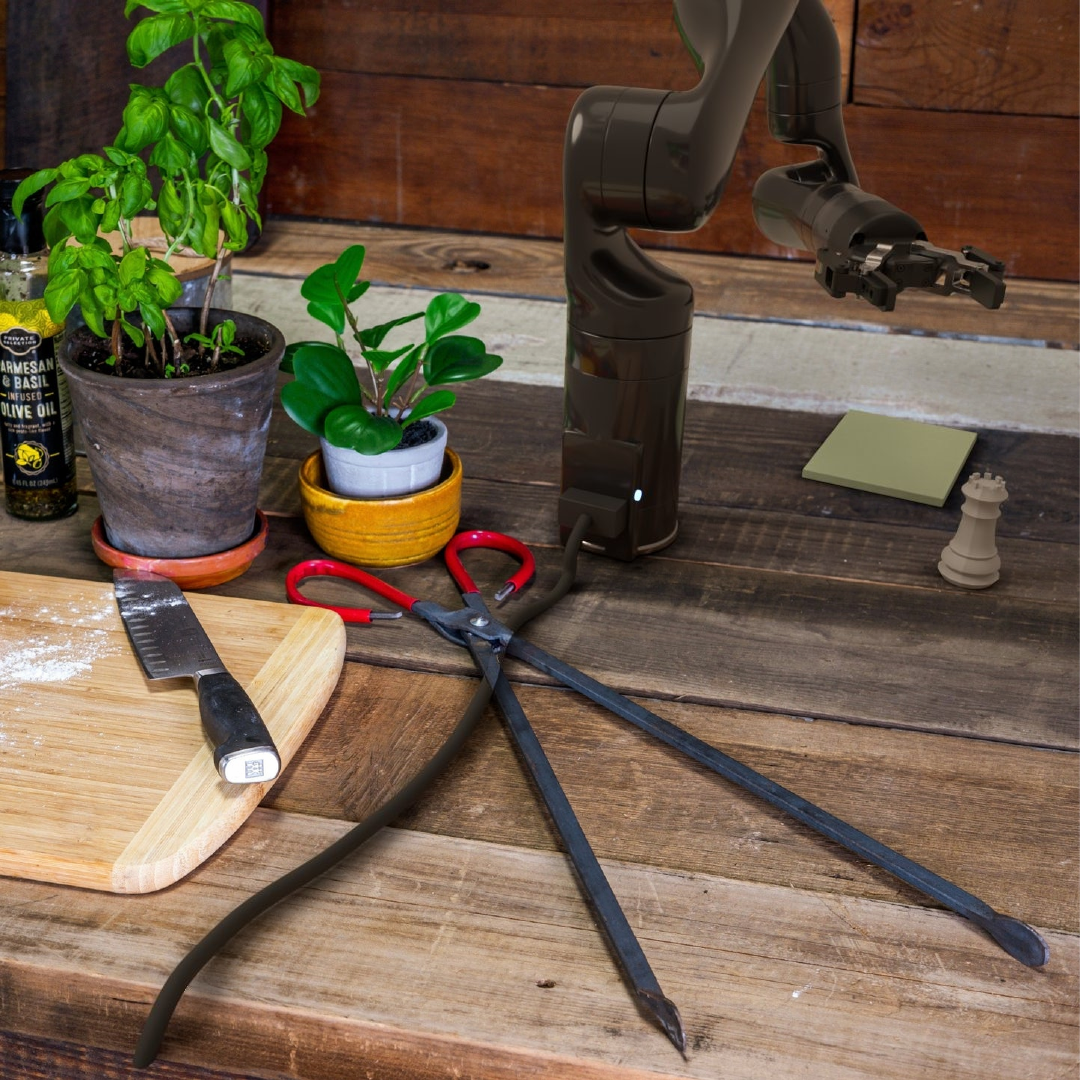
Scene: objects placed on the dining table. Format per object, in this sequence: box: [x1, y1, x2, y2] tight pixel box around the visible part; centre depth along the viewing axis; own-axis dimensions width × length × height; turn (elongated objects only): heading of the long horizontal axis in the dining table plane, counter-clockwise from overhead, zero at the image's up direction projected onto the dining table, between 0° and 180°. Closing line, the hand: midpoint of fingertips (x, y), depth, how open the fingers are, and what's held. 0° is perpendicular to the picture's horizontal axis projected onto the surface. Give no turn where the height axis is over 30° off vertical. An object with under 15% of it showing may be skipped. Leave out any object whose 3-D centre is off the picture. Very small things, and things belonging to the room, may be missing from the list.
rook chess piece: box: [937, 472, 1009, 590], centre depth 92 cm, size 4×4×8 cm
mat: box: [801, 408, 978, 508], centre depth 113 cm, size 16×12×1 cm
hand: (945, 298), depth 95 cm, fingers open, 8 cm apart
